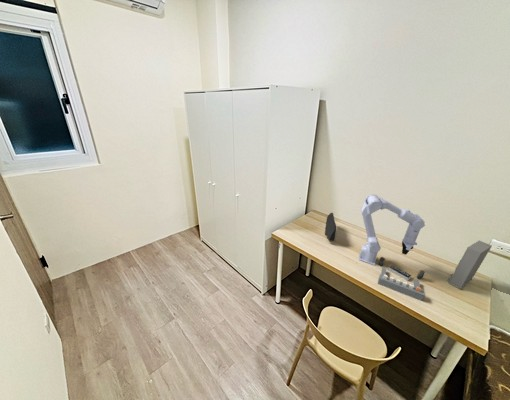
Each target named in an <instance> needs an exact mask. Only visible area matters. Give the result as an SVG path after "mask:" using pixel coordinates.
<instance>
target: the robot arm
mask: <svg viewBox="0 0 510 400" xmlns="http://www.w3.org/2000/svg"><path fill="white" fill-rule="evenodd" d="M385 209H386V210H388V211H390V212H392V213H394V214H396V215H397V218H399V219H401V220H402V221H405V222H406V223H408V226H407V228H406V231H405V234H404V236H403V239H402V241H401V247H402V250H401V254H402V255H407V254H409V252H410V251H412V250H413V249H414V246H417V245H418V242H417V238H418V236H419V234H420V231H421V230H422V229H423V228H424V227H425V226H426V224H425V221H424V219H423V218H422V217H421V216H420V215H419V214H417V213H413V212H412V211H411V209H409V208H408V209H406V208H400V207H398V206H396V205H395V204H393V203H392V202H389V201H388V200H386V199H384V197H381V196H378V195H377V194H369V195H368V196H367V197H366V198H365V200H364V202H363V205H362V207H361V216H362V219H363V224H364V227H365V232H366V236H367V237H366V242H367V243H366V245H364V244H362V246H361V250H360V252H359V253H358V255H359V257H358V260H359V261H361V262H365V263H367V264H370V265H373V266H375V265H376V262H377V261H376V260H377V255H378V253H379V252H380V250H381V249H382V247H381V245H380V243H379V240H378V237H377V234H376V230H375V226H374V223H373V218H372V215H373V213H375V212H378V211H379V210H381V211H383V210H385Z"/></svg>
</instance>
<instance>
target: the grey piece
mask: <svg viewBox="0 0 510 400" xmlns="http://www.w3.org/2000/svg"><path fill="white" fill-rule="evenodd" d="M377 279H378V280H377V285H380V286H383V287H385V288H388V289H390V290H393V291H396V292H397V293H398V292H399V293H401V294H403V295H405V296H408V297H411V298H413V299H415V300H419V301H421V302H422V301H423V299H424V297H425V291H424V290H425V289H423V288H422V287H421V284H420V280H419V279H418V278H414V280H413V284H411V283H409V284H408V281H401V279H399V278H396V279H395V278H394V276H393V277H392V276H388V275H387V268H385V267H382V268H381V272H380V273H379V276H378V278H377Z"/></svg>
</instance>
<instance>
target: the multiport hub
mask: <svg viewBox="0 0 510 400" xmlns="http://www.w3.org/2000/svg"><path fill="white" fill-rule="evenodd" d="M387 271H389V272H390V273H391V274H394V275H396V276H398V277H399V278H401V279H403V280H405V282H408V281H409V280H410V279H411V278H412V274H410V273H408V272H406V271H404V270H403V269H401V268H399V267H397V266H396V265H393V264H391V265H389V266H388V269H387Z"/></svg>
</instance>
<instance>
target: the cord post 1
mask: <svg viewBox="0 0 510 400" xmlns="http://www.w3.org/2000/svg"><path fill="white" fill-rule="evenodd" d="M385 261H386V260H385V257H383V256H380V259H379V261H378V266H380V267H383V265H384V262H385Z"/></svg>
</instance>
